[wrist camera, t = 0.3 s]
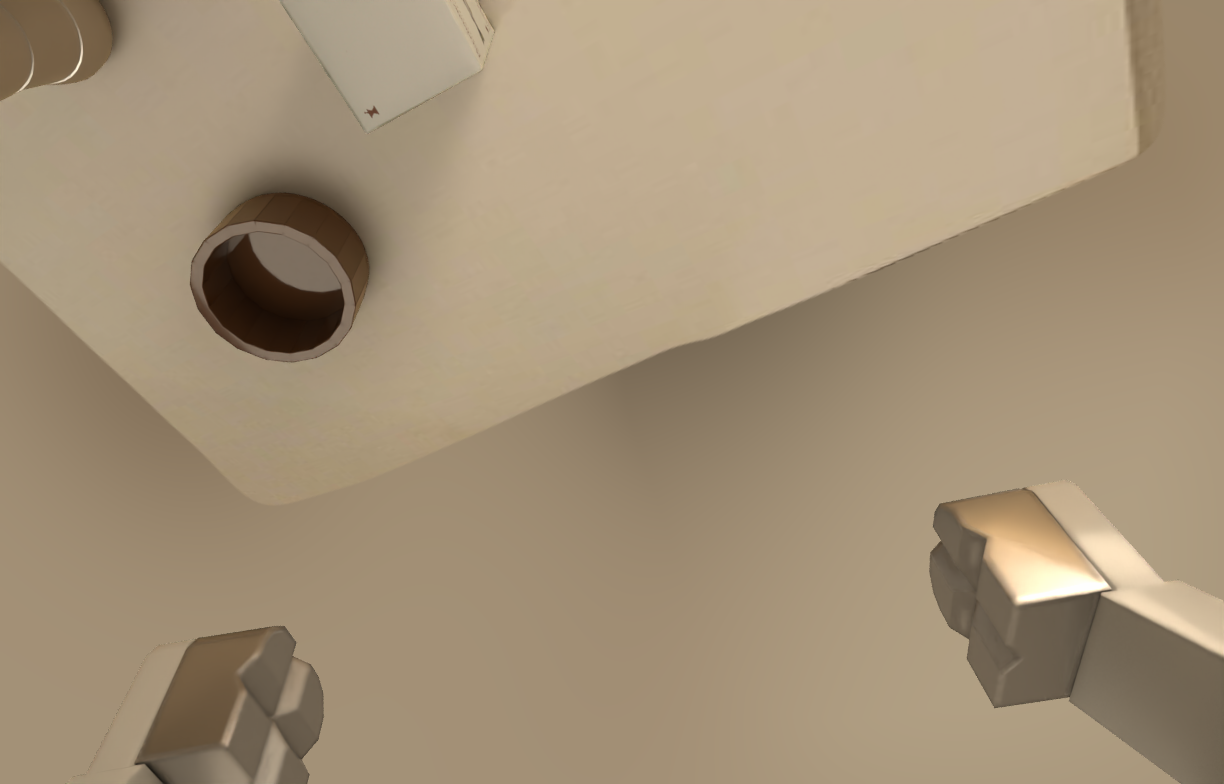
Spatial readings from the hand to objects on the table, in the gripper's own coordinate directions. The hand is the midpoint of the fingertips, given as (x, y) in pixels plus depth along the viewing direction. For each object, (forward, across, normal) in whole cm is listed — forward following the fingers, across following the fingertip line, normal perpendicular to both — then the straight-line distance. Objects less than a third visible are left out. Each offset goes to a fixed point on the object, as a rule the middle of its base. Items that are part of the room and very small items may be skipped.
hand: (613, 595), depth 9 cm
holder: (+47, +22, +12) cm, 54 cm away
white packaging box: (+48, +8, -2) cm, 48 cm away
